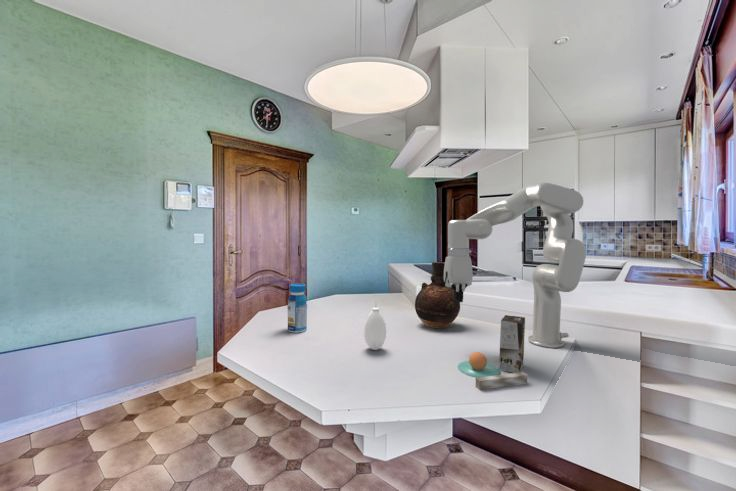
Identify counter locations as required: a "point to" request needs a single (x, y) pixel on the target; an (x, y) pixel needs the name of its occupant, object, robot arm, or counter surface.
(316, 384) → the counter surface
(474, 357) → the ball
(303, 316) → the beverage bottle
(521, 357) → the coffee box
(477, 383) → the strip
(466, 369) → the teal disc
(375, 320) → the sauce bottle
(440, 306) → the ceramic vessel
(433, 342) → the counter surface
